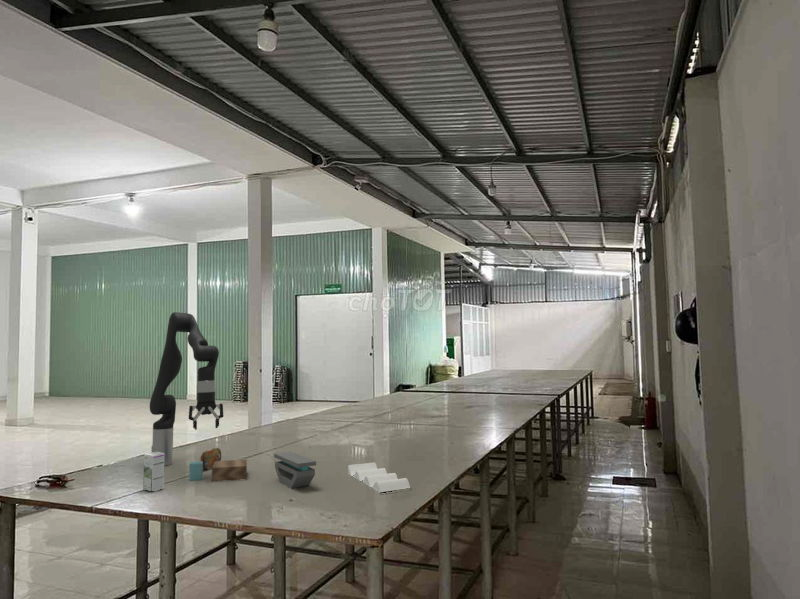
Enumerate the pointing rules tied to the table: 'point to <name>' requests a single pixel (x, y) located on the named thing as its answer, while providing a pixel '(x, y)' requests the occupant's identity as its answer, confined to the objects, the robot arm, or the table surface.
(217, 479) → the walnut block
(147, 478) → the syrup box
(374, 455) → the table surface
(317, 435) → the table surface
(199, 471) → the teal block
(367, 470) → the white corrugated sheet
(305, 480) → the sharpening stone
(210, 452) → the tin
